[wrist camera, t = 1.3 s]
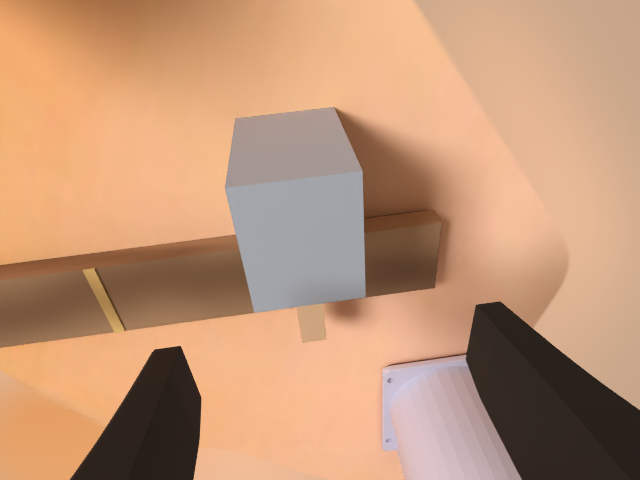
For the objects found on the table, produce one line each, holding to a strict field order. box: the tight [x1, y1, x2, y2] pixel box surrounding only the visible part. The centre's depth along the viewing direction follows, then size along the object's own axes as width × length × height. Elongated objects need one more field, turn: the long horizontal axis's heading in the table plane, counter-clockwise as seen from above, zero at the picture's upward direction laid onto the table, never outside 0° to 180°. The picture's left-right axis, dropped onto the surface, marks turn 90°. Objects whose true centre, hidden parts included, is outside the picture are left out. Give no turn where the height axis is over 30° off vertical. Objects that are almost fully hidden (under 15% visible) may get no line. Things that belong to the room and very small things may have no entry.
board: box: [0, 210, 441, 348], centre depth 21 cm, size 4×22×1 cm, turn 95°
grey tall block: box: [225, 107, 366, 343], centre depth 18 cm, size 10×4×6 cm, turn 5°
